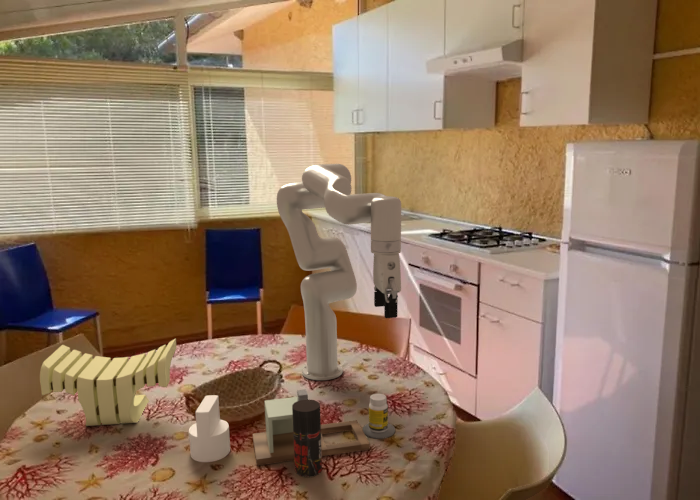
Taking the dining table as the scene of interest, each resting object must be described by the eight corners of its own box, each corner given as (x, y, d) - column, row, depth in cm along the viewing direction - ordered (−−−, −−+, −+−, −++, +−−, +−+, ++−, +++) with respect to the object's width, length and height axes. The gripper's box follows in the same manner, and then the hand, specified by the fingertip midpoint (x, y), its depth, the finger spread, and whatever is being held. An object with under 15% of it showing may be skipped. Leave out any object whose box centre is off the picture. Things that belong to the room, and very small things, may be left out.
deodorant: (294, 463, 131) (292, 400, 128) (321, 461, 131) (319, 398, 128) (294, 478, 125) (292, 412, 122) (322, 476, 125) (320, 410, 122)
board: (252, 439, 141) (252, 433, 141) (357, 425, 147) (357, 419, 147) (256, 465, 130) (256, 459, 130) (369, 449, 136) (369, 443, 135)
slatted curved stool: (46, 433, 146) (38, 366, 143) (69, 405, 162) (62, 344, 159) (169, 425, 149) (164, 359, 146) (180, 398, 165) (175, 338, 162)
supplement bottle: (386, 434, 142) (386, 401, 140) (367, 432, 143) (366, 400, 141) (389, 424, 146) (389, 393, 145) (370, 423, 147) (370, 391, 146)
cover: (266, 434, 140) (263, 388, 138) (307, 428, 143) (305, 384, 140) (270, 453, 132) (267, 405, 130) (313, 447, 134) (312, 399, 132)
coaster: (359, 425, 147) (359, 423, 147) (389, 421, 149) (389, 419, 149) (367, 440, 140) (367, 439, 140) (399, 436, 141) (399, 434, 141)
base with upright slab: (197, 442, 141) (193, 395, 139) (234, 441, 140) (231, 395, 138) (185, 462, 132) (181, 412, 130) (225, 462, 132) (221, 412, 129)
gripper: (411, 252, 139) (410, 321, 142) (390, 239, 155) (390, 301, 159) (380, 254, 137) (380, 323, 141) (363, 240, 154) (363, 303, 157)
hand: (385, 311), depth 150 cm, fingers open, 9 cm apart
